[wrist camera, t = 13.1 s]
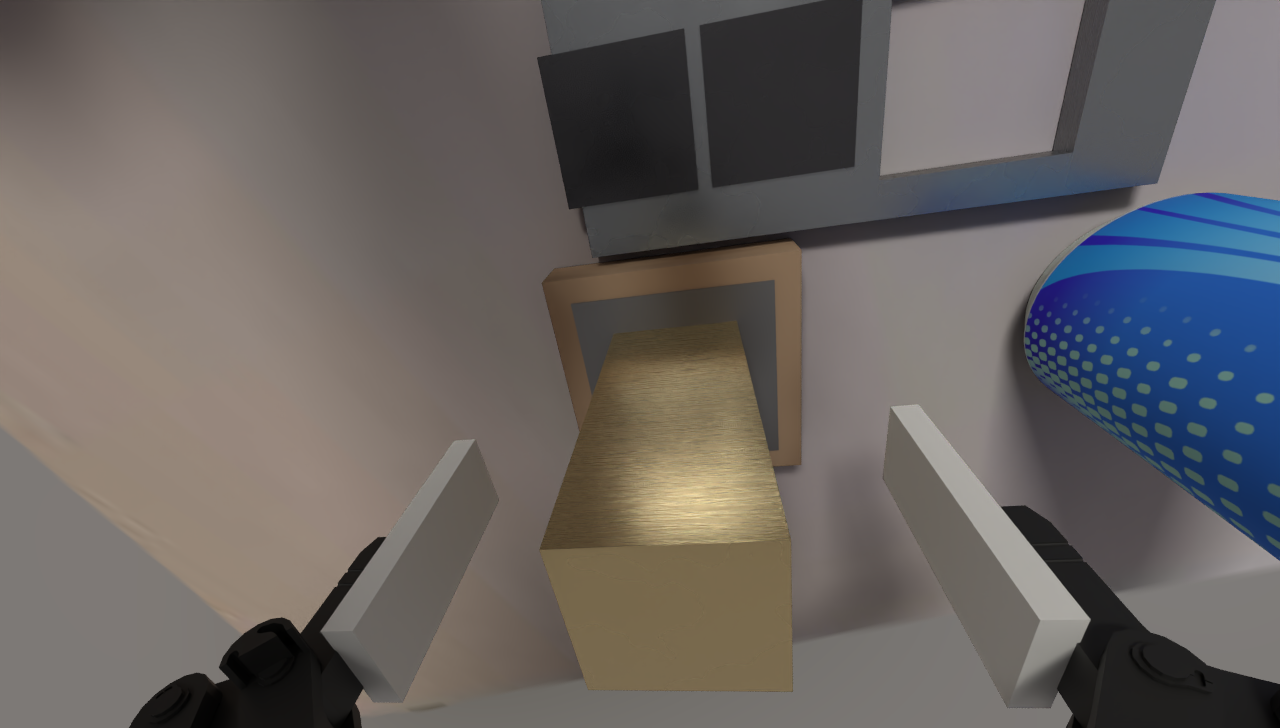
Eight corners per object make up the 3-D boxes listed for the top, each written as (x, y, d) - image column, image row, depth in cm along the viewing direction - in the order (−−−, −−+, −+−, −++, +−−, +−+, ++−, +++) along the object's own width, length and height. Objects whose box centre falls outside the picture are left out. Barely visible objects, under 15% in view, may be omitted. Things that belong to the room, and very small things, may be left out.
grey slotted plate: (585, 252, 20) (579, 259, 19) (531, -8, 16) (521, -16, 15) (1132, 180, 17) (1159, 183, 16) (1235, -165, 13) (1279, -187, 12)
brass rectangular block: (632, 432, 22) (588, 689, 12) (613, 333, 19) (539, 549, 10) (743, 424, 21) (793, 692, 11) (736, 320, 19) (790, 541, 9)
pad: (598, 452, 25) (590, 478, 23) (554, 268, 20) (540, 283, 19) (792, 438, 23) (801, 466, 22) (790, 238, 19) (802, 251, 17)
